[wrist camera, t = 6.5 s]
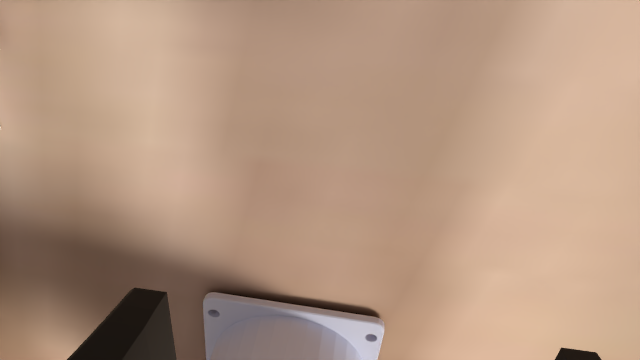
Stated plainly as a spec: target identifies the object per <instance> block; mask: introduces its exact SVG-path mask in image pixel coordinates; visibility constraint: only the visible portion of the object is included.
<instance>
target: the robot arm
mask: <svg viewBox="0 0 640 360" xmlns="http://www.w3.org/2000/svg"><path fill="white" fill-rule="evenodd" d="M203 316H204V333H205V350H206V360H377V359H378V355H379V351H380V347H381V343H382V339H383V335H384V322H383V321H382V320H381V319H379V318H377V317H373V316H366V315H360V314H353V313H347V312H340V311H334V310H327V309H321V308H314V307H308V306H301V305H295V304H288V303H282V302H275V301H269V300H262V299H256V298H249V297H243V296H236V295H230V294H223V293H217V292H211V293H208V294H207V295H205V298H204V301H203ZM67 360H176V353H175V346H174V339H173V332H172V325H171V319H170V312H169V305H168V298H167V292H161V291H154V290H147V289H140V288H134V289H132V290H131V291H129V293H128V294H127V295H126V296H125V297H124V298H123V299H122V301H121V302H120V303H119V304H118V305H117V306H116V307H115V308H114V310H113V311H112V312H111V313H110V314H109V315H108V316H107V317H106V318H105V320H104V321H103V322H102V323H101V324H100V325H99V326H98V327H97V328H96V329H95V330H94V332H93V333H92V334H91V335H90V336H89V337H88V338H87V339H86V340H85V341H84V342H83V343H82V344H81V345H80V347H79V348H78V349H77V350H76V351H75V352H74V353H73V354H72V355H71V356H70V357H69V358H68V359H67ZM555 360H601V358H600V357H599V356H598V354H597V353H596V352H589V351H581V350H574V349H567V348H561V349H560V351H559V353H558V355H557V357H556V359H555Z"/></svg>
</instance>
